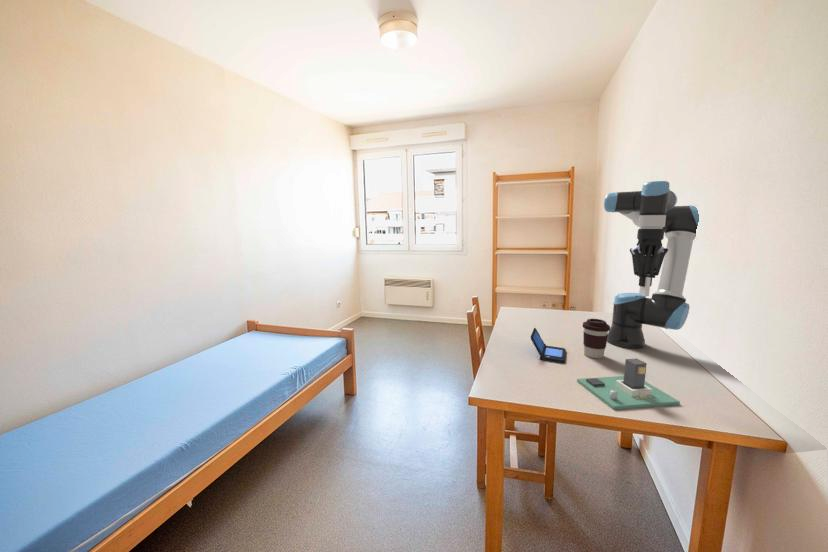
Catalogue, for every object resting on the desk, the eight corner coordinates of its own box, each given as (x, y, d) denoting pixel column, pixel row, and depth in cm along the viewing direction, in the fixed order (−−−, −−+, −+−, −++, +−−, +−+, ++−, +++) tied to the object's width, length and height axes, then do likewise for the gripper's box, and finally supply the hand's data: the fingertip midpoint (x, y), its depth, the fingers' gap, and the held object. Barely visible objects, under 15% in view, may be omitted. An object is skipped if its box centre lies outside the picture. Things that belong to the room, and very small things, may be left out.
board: (634, 377, 121) (635, 368, 120) (679, 404, 103) (680, 394, 102) (576, 381, 118) (577, 372, 117) (613, 409, 100) (614, 398, 100)
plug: (633, 387, 112) (636, 358, 110) (645, 394, 107) (648, 364, 105) (622, 387, 111) (625, 359, 110) (634, 395, 106) (637, 365, 105)
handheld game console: (564, 364, 133) (566, 342, 131) (528, 358, 138) (530, 337, 137) (565, 351, 147) (567, 330, 145) (533, 346, 152) (534, 326, 151)
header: (634, 384, 113) (635, 379, 113) (653, 396, 106) (653, 390, 106) (615, 386, 112) (615, 380, 112) (632, 397, 105) (633, 391, 105)
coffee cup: (606, 353, 143) (609, 319, 141) (608, 361, 134) (611, 325, 132) (580, 349, 147) (582, 316, 145) (580, 357, 139) (583, 322, 136)
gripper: (659, 227, 120) (651, 292, 124) (625, 228, 118) (619, 293, 122) (677, 228, 113) (669, 297, 116) (642, 228, 111) (635, 298, 115)
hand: (643, 295), depth 119 cm, fingers closed
